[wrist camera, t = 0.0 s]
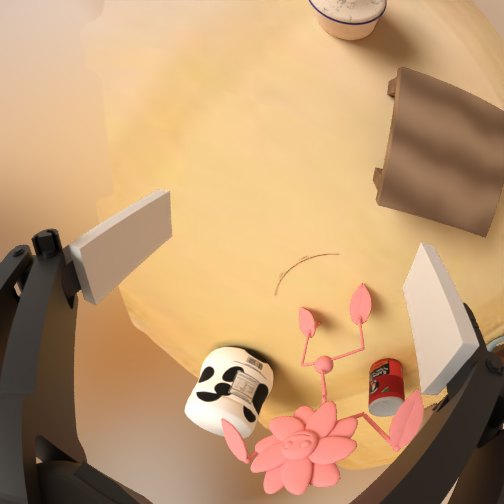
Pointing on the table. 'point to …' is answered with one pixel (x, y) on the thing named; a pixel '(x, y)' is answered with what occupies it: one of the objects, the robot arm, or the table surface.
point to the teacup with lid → (348, 16)
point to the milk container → (230, 390)
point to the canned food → (386, 388)
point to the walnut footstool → (442, 154)
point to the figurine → (319, 426)
